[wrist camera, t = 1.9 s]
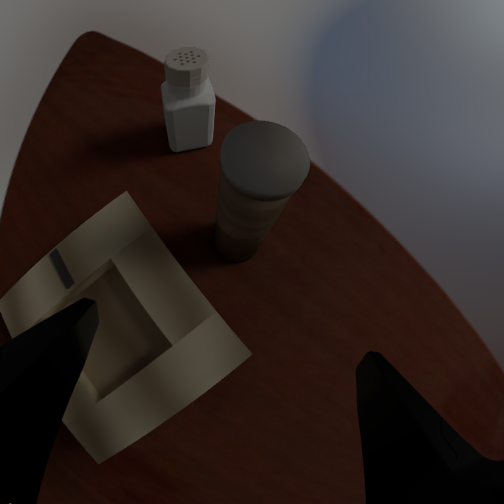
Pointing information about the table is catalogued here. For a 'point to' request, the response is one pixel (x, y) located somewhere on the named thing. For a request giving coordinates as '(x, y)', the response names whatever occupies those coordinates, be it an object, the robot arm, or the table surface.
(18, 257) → the table surface
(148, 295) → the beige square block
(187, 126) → the salt shaker
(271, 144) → the wooden peg
